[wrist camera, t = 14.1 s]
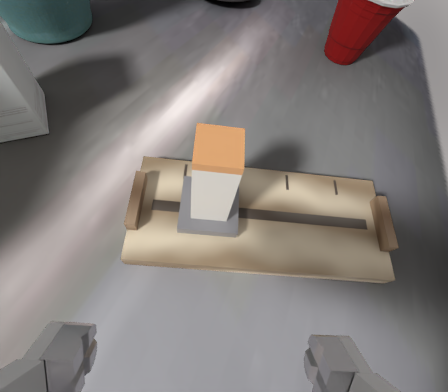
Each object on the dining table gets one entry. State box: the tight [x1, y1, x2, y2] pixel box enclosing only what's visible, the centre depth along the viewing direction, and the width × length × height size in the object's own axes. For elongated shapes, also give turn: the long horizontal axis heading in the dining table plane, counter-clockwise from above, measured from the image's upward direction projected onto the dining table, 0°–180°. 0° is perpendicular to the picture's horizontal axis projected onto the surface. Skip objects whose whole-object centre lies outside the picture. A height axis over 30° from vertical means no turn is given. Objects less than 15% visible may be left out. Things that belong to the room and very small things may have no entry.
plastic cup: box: [324, 0, 414, 65], centre depth 43 cm, size 11×11×12 cm
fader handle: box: [177, 123, 245, 238], centre depth 24 cm, size 6×6×11 cm
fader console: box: [121, 156, 399, 283], centre depth 30 cm, size 12×28×4 cm, turn 87°
